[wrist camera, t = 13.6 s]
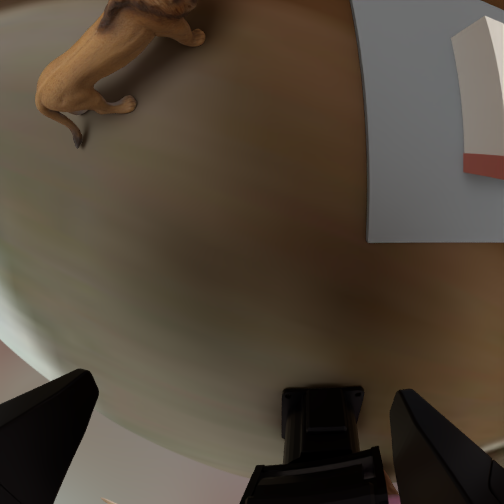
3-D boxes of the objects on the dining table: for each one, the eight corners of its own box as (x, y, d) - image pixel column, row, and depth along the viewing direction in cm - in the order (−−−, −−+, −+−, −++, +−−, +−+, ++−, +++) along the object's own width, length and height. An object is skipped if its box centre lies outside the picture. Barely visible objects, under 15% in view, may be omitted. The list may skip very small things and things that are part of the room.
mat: (552, 240, 15) (556, 242, 14) (365, 239, 17) (367, 242, 17) (539, 33, 9) (542, 31, 9) (343, -27, 12) (344, -32, 11)
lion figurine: (194, -28, 13) (139, -101, 5) (251, 4, 14) (217, -84, 5) (64, 128, 18) (-32, 133, 9) (104, 171, 18) (3, 193, 10)
